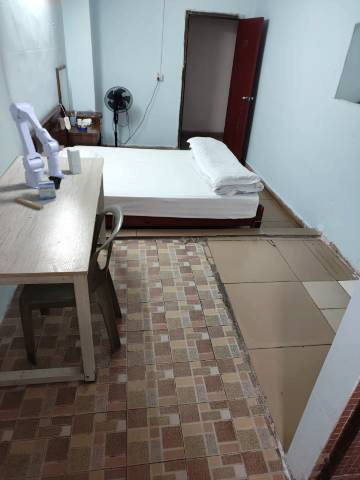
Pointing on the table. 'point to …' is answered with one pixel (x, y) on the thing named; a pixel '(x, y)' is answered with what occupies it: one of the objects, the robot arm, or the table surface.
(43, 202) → the level mat
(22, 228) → the table surface
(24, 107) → the robot arm
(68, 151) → the skincare box
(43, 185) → the medicine box
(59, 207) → the table surface
